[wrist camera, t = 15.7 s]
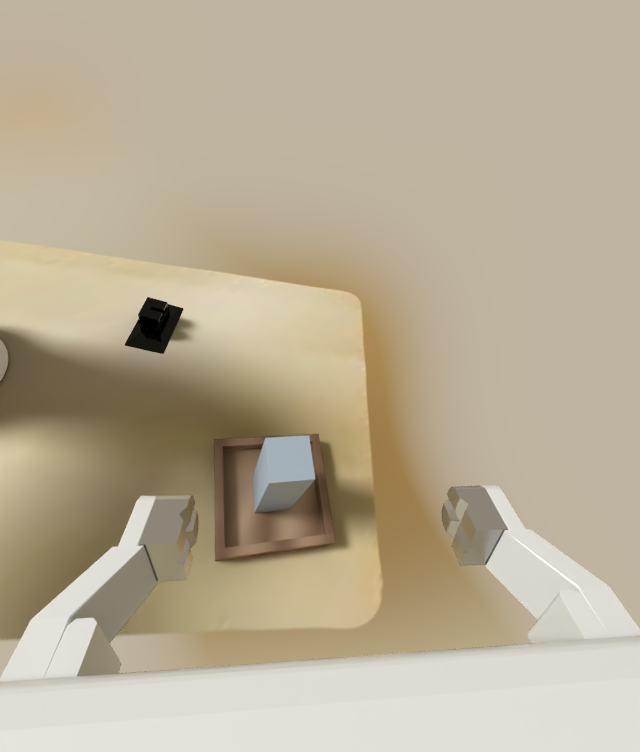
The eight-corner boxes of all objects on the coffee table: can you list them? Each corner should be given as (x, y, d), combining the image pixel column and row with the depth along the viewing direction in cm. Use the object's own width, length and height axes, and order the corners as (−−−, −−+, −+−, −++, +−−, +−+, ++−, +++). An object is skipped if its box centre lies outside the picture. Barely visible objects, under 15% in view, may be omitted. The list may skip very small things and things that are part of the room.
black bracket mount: (165, 365, 54) (161, 347, 51) (114, 352, 53) (107, 334, 50) (192, 305, 61) (191, 285, 57) (147, 293, 60) (143, 272, 56)
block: (254, 513, 46) (269, 483, 34) (252, 477, 48) (265, 437, 36) (289, 509, 47) (315, 479, 35) (286, 474, 49) (309, 435, 38)
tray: (215, 560, 43) (215, 558, 41) (214, 446, 49) (214, 439, 47) (329, 544, 47) (335, 541, 45) (314, 440, 53) (318, 433, 51)
